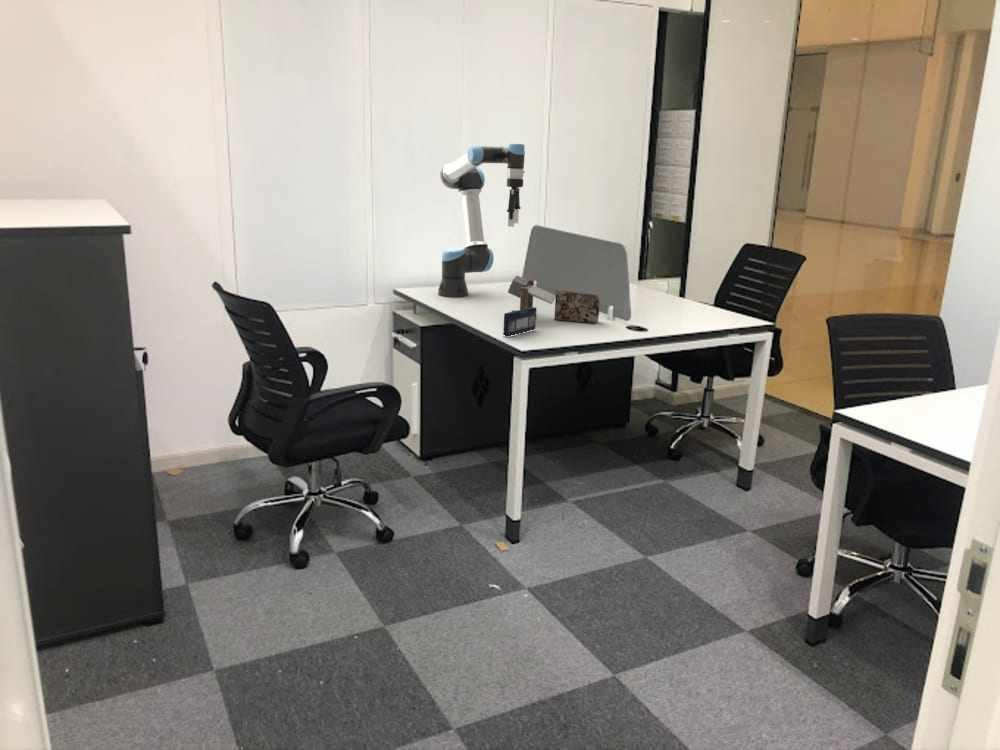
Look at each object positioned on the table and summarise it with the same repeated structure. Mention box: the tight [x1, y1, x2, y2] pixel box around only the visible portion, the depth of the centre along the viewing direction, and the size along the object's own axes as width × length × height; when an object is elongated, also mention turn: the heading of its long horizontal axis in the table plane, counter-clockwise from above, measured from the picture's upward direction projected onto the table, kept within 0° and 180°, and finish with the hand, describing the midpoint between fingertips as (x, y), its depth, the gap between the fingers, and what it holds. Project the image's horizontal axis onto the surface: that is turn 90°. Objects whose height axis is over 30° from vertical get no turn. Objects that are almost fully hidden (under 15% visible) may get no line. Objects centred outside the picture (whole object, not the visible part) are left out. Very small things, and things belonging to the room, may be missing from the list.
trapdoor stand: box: [511, 278, 535, 312], centre depth 358 cm, size 11×24×16 cm, turn 170°
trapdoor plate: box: [507, 275, 556, 305], centre depth 356 cm, size 20×16×6 cm
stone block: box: [553, 290, 601, 324], centre depth 358 cm, size 13×7×20 cm
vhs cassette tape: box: [502, 306, 538, 336], centre depth 333 cm, size 18×3×10 cm, turn 137°
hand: (513, 224), depth 372 cm, fingers open, 13 cm apart
